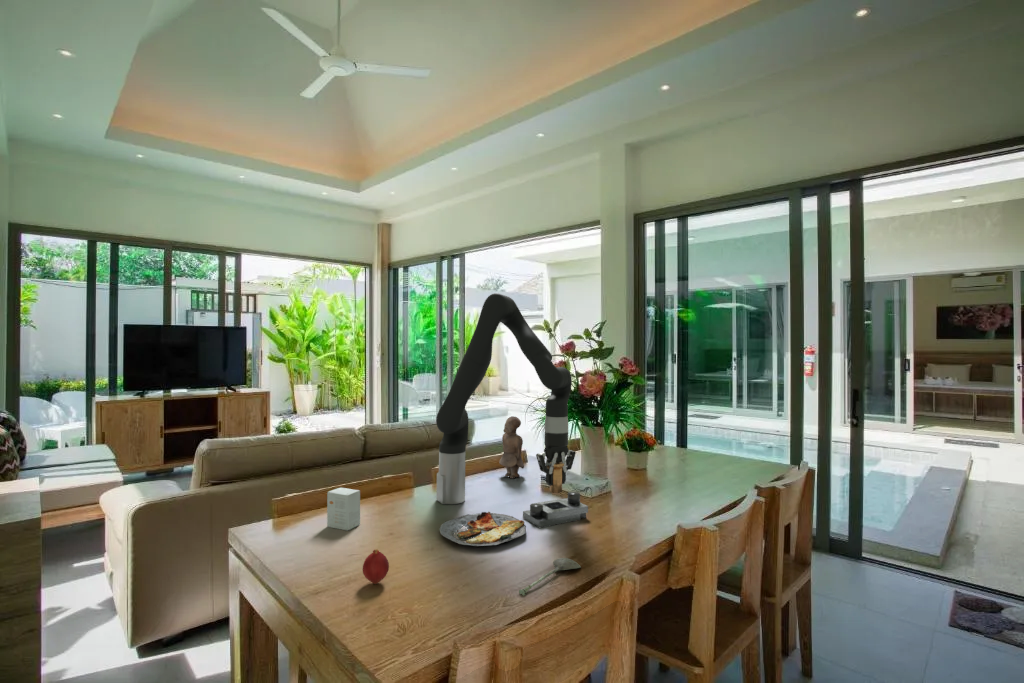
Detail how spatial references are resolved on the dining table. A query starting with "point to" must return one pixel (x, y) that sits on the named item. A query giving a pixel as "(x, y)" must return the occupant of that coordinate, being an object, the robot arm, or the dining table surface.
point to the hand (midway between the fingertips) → (555, 484)
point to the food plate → (483, 529)
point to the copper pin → (557, 478)
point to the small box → (343, 508)
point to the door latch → (556, 511)
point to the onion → (375, 567)
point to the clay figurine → (512, 447)
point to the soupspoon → (559, 565)
